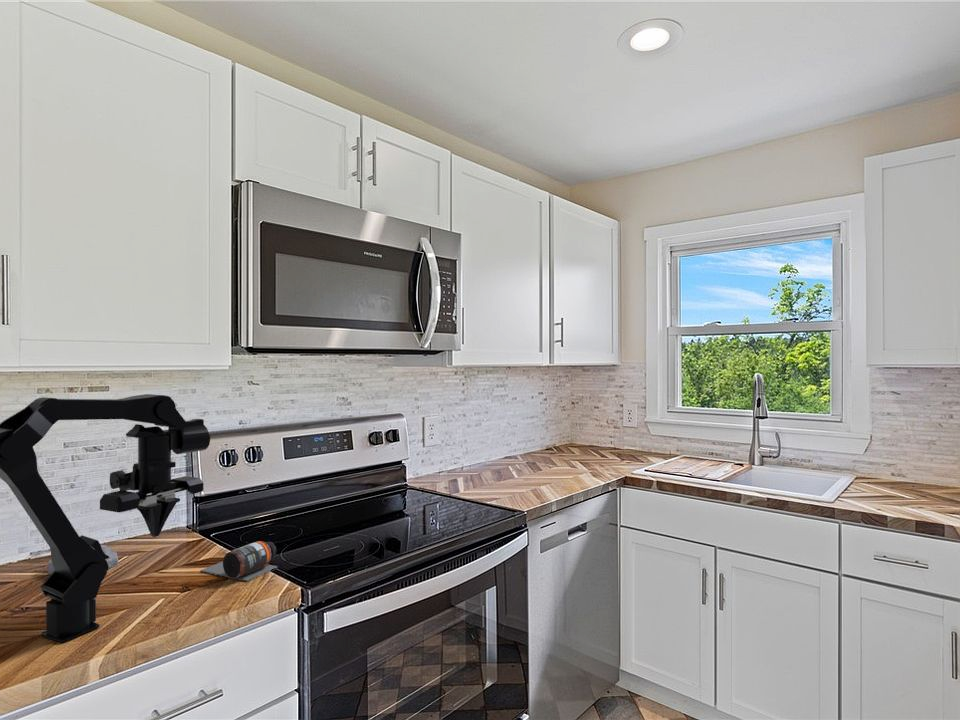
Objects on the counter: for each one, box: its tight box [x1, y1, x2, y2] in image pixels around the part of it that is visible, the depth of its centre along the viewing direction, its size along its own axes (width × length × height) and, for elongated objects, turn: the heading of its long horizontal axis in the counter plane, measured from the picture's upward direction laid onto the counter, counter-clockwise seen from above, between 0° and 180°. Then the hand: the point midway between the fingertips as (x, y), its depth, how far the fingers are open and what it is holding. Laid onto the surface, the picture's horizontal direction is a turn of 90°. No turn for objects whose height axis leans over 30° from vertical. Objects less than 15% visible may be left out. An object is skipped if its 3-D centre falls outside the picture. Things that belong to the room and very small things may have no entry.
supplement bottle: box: [222, 540, 277, 579], centre depth 133 cm, size 6×6×11 cm
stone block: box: [46, 544, 119, 575], centre depth 135 cm, size 12×5×10 cm
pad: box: [200, 560, 278, 582], centre depth 134 cm, size 9×14×1 cm, turn 66°
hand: (155, 536), depth 117 cm, fingers closed
